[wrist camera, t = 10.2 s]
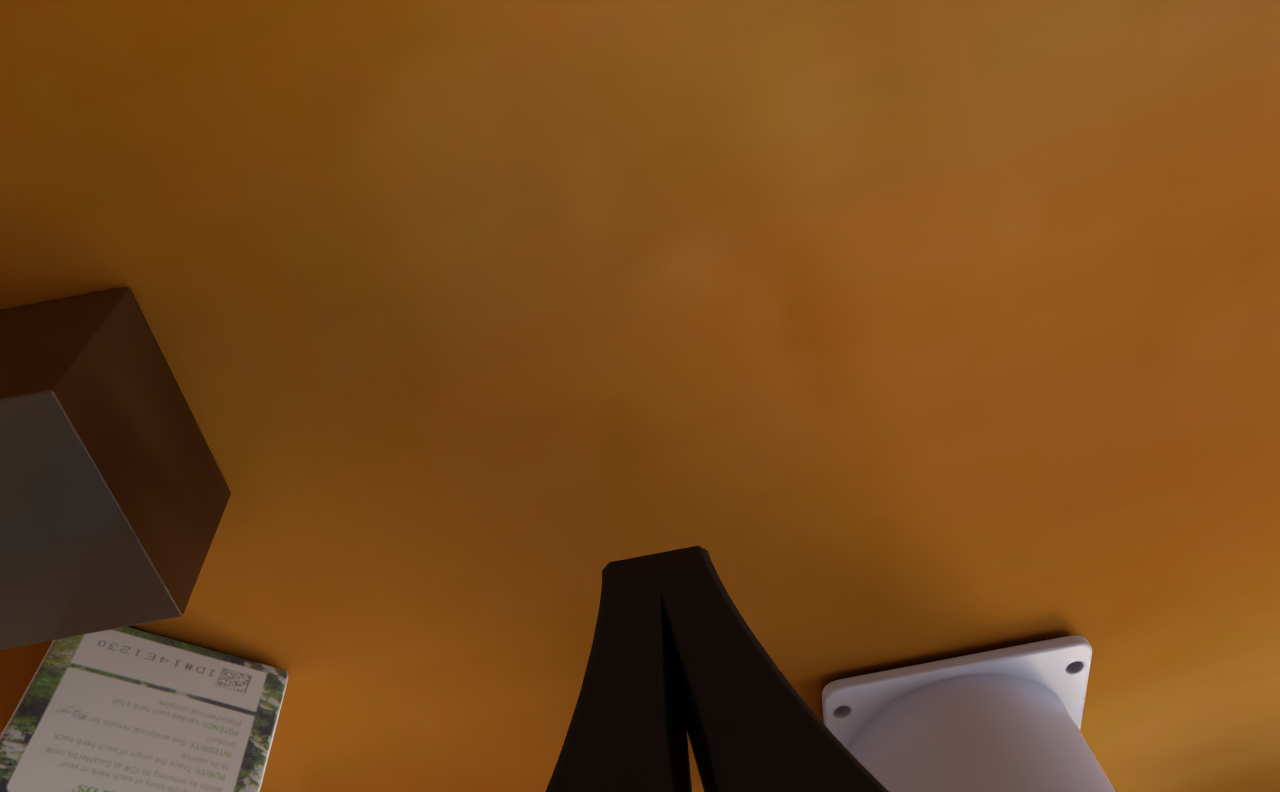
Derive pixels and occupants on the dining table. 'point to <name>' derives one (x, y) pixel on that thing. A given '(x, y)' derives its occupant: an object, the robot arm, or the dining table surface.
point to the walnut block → (96, 473)
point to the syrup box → (141, 718)
